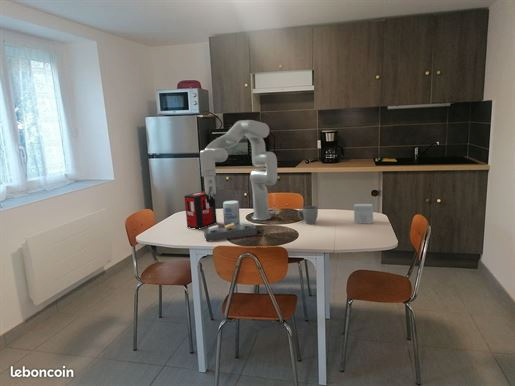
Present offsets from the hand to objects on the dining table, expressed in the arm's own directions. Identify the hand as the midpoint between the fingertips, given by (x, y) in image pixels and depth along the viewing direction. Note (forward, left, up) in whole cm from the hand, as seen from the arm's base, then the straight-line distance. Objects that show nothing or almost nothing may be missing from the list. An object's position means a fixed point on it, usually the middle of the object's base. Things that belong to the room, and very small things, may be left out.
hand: (210, 204), depth 208 cm
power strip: (-12, +1, -19) cm, 22 cm away
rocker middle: (-9, +1, -14) cm, 17 cm away
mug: (-57, -4, -19) cm, 61 cm away
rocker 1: (0, +1, -14) cm, 14 cm away
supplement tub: (-14, -19, -19) cm, 31 cm away
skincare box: (-87, +8, -19) cm, 90 cm away
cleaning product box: (+3, -28, -19) cm, 34 cm away
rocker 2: (-18, +1, -14) cm, 23 cm away
